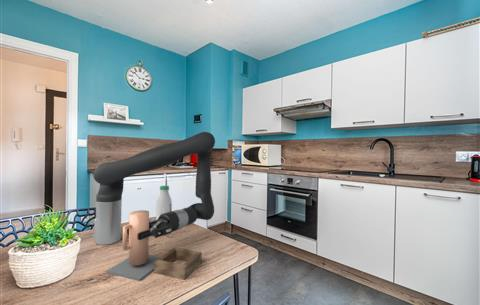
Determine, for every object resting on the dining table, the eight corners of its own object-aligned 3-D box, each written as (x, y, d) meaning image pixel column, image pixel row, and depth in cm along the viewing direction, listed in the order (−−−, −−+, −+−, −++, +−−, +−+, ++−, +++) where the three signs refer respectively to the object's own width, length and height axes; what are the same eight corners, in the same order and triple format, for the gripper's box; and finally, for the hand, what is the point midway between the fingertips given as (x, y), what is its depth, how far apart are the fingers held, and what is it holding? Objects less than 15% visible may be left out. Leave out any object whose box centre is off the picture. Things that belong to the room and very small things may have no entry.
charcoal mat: (106, 272, 67) (106, 270, 67) (137, 254, 80) (137, 252, 80) (139, 281, 63) (139, 279, 63) (167, 260, 76) (167, 258, 76)
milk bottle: (166, 227, 109) (167, 187, 109) (152, 225, 111) (153, 186, 111) (174, 222, 117) (174, 185, 117) (161, 221, 118) (161, 184, 118)
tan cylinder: (141, 254, 76) (142, 209, 76) (152, 259, 73) (152, 212, 72) (117, 265, 69) (118, 215, 69) (128, 270, 66) (128, 218, 65)
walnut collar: (154, 272, 68) (154, 261, 68) (174, 256, 78) (174, 247, 78) (184, 279, 65) (184, 268, 65) (201, 262, 75) (202, 252, 75)
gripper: (161, 208, 88) (120, 218, 73) (186, 214, 80) (145, 227, 66) (161, 226, 88) (120, 240, 73) (186, 234, 80) (145, 252, 66)
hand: (132, 234), depth 70 cm, fingers closed on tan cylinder, 6 cm apart
